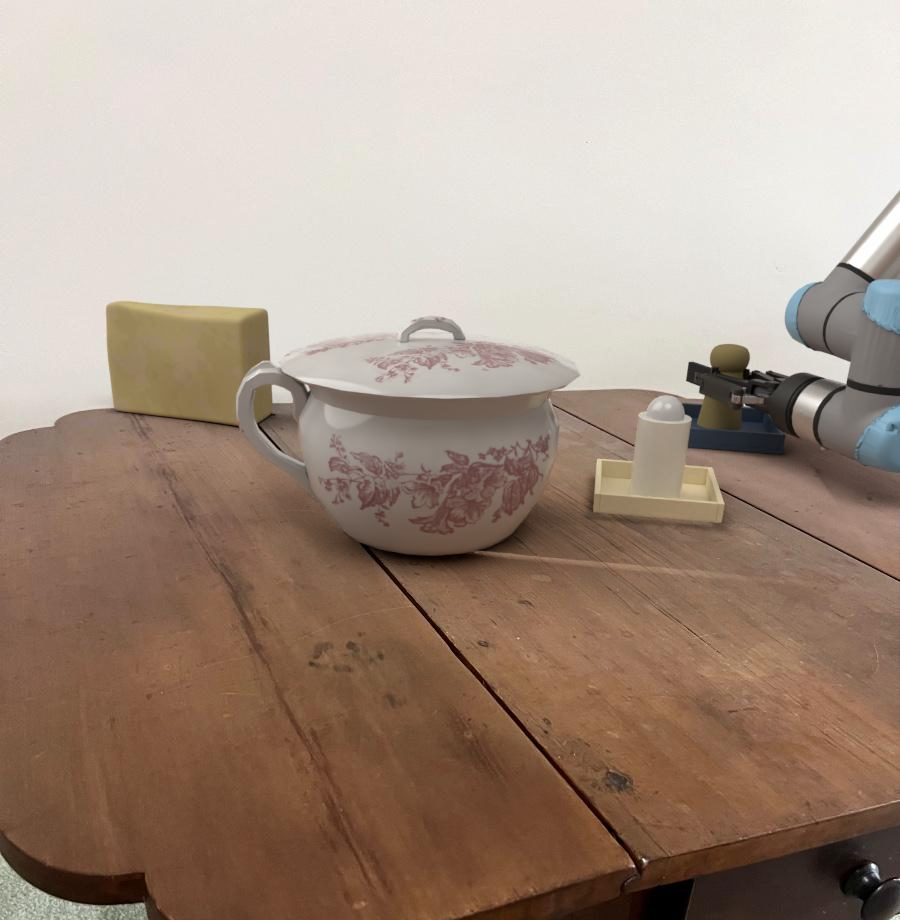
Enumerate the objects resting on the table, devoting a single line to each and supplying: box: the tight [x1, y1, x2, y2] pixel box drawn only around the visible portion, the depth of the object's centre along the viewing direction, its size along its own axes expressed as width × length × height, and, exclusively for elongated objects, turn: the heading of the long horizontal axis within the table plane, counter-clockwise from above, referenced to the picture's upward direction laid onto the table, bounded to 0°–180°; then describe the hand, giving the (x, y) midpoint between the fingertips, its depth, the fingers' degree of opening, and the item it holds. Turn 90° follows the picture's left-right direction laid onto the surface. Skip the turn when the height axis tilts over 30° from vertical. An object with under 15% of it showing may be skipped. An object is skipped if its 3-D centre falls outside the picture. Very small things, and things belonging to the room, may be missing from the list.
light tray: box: [592, 458, 726, 524], centre depth 101 cm, size 13×13×3 cm
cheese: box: [105, 300, 274, 427], centre depth 126 cm, size 22×10×15 cm, turn 80°
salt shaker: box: [629, 394, 692, 499], centre depth 99 cm, size 6×6×11 cm
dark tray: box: [681, 402, 787, 455], centre depth 128 cm, size 15×15×3 cm
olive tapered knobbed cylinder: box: [697, 343, 751, 430], centre depth 126 cm, size 6×6×11 cm
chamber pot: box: [236, 315, 581, 557], centre depth 87 cm, size 28×28×21 cm
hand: (704, 370), depth 130 cm, fingers closed on olive tapered knobbed cylinder, 4 cm apart
